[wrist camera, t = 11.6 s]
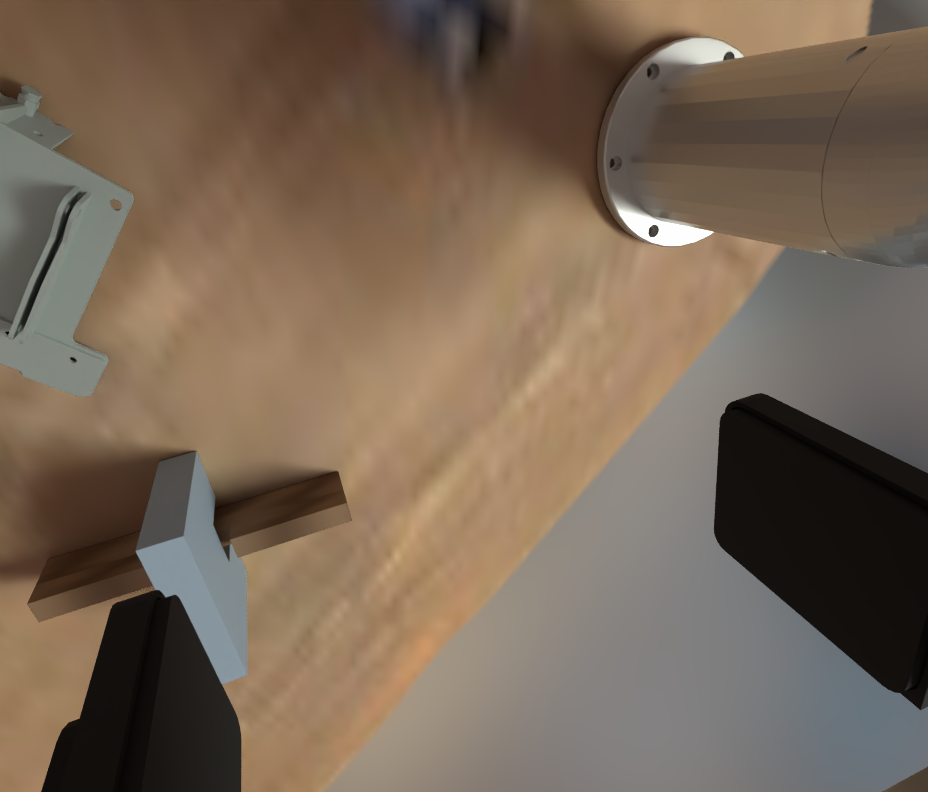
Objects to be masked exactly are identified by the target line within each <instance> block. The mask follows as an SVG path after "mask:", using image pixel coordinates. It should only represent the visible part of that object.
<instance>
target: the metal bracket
mask: <svg viewBox="0 0 928 792" xmlns="http://www.w3.org/2000/svg"><path fill="white" fill-rule="evenodd" d="M21 90H22V93H20V94H19V95H18V98H17V100H16V99H14V98H12V97H11V96H10V97H6V96H4V95H2V94H1V93H2V91H0V364H3V365H6V366H8V367H11V368H14V369H16V370H19V371H20V372H21V373H22V376H23V377H26V378H29V379H31V380H34V381H37V382H40V383H42V384H45V385H48V386H50V387H53V388H56V389H59V390H61V391H64V392H67V393H69V394H72V395H75V396H90V395H91V394H92V393H93V391H94V389H95V387H96V385H97V383H98V381H99V379H100V377H101V375H102V373H103V371H104V369H105V367H106V365H107V363H108V357H107V356H106V355H105V354H103V353H100V352H98V351H96V350H93V349H91V348H88V347H86V346H83V345H81V344H78V343H77V342H75V341H74V339H73V334H74V332H75V330H76V328H77V325H78V323H79V321H80V319H81V317H82V314H83V312H84V310H85V308H86V306H87V303H88V301H89V299H90V297H91V294H92V292H93V290H94V288H95V286H96V283H97V281H98V279H99V277H100V275H101V272H102V270H103V268H104V266H105V263H106V261H107V259H108V257H109V255H110V252H111V250H112V248H113V246H114V244H115V241H116V239H117V237H118V235H119V232H120V230H121V228H122V226H123V224H124V221H125V219H126V217H127V215H128V213H129V210H130V208H131V206H132V204H133V201H134V196H133V194H132V193H131V192H130V191H129V190H127V189H125V188H123V187H121V186H119V185H118V184H116V183H114V182H112V181H110V180H108V179H106V178H105V177H103V176H101V175H99V174H97V173H95V172H94V171H92V170H90V169H88V168H86V167H84V166H82V165H81V164H79V163H77V162H75V161H73V160H71V159H70V158H68V157H66V156H64V155H62V154H60V153H58V152H57V151H55V150H53V149H54V148H55V147H56V146H58V145H59V144H61V143H62V142H64V141H65V140H67V139H68V138H70V137H71V136H72V135H73V133H74V132H73V131H71V130H69V129H67V128H66V127H64V126H62V125H56V124H54V123H53V122H52V121H53V120H51V119H50V118H48V117H46V116H44V115H43V114H41V113H39V112H37V111H35V110H37V109H38V108H39V105H40V103H41V102H40V101H39V99H40V98H42V97H43V95H42V94H41V93H40V92H39V91H38V90H37V89H35V88H32V87H29V86H27V85H24V86H21ZM113 199H115V200H118V201H119V202H120V203H121V205H122V208H121V209H114V208H113V207H112V206H111V204H110V201H111V200H113ZM5 332H9V334H8V335H7V334H6V333H5ZM70 357H74V358H75V359H76V360H77V361H73V360H71V359H70Z"/></svg>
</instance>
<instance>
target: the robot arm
mask: <svg viewBox="0 0 928 792" xmlns="http://www.w3.org/2000/svg"><path fill="white" fill-rule="evenodd" d="M610 160H611V165H610ZM597 171H598V177H599V183H600V189H601V192H602V195H603V197H604V200H605V203H606V206H607V207H608V209H609V211H610V212H611V214H612V216H613V218H614V219H615V221H616V222H617V223H618V224H619V225H620V226H621V227H622V228H623V229H624V230H625V231H626V232H627V233H629V234H630V235H632V236H633V237H635V238H637V239H638V240H641V241H644V242H647V243H650V244H654V245H659V246H663V247H679V246H684V245H688V244H692V243H695V242H697V241H699V240H701V239H703V238H705V237H708V236H709V235H710V234H712V233H713V232H716V233H721V234H726V235H731V236H737V237H742V238H747V239H752V240H757V241H762V242H767V243H772V244H777V245H782V246H787V247H792V248H798V249H802V250H807V251H813V252H817V253H822V254H827V255H832V256H838V257H843V258H849V259H854V260H860V261H864V262H869V263H875V264H880V265H885V266H892V267H901V268H924V267H928V27H922V28H916V29H911V30H904V31H898V32H892V33H886V34H880V35H874V36H868V37H862V38H856V39H850V40H844V41H838V42H832V43H826V44H820V45H814V46H808V47H802V48H796V49H790V50H783V51H777V52H771V53H765V54H759V55H753V56H747V57H745V56H744V55H743V54H742V53H741V52H740V51H739V50H738V49H737V48H735V47H733V46H732V45H730V44H728V43H727V42H725V41H723V40H719V39H715V38H711V37H688V38H684V39H679V40H675V41H672V42H670V43H667V44H665V45H662V46H660V47H658V48H656V49H655V50H653V51H652V52H650V53H649V54H647V55H646V56H645V57H643V58H642V59H641V60H640V61H639V62H638V63H637V64H636V65H635V66H634V67H633V68H632V69H631V70H630V71H629V72H628V73H627V75H626V76H625V78H624V79H623V80H622V82H621V83H620V85H619V86H618V88H617V89H616V91H615V93H614V95H613V97H612V99H611V101H610V103H609V105H608V107H607V110H606V113H605V116H604V120H603V123H602V126H601V129H600V136H599V142H598V149H597ZM714 534H715V537H716V539H717V541H718V543H719V545H720V546H721V547H722V548H723V549H724V550H725V551H726V552H727V553H728V554H729V555H731V556H732V557H733V558H734V559H735V560H736V561H737V562H739V563H740V564H741V565H742V566H743V567H745V568H746V569H747V570H748V571H749V572H750V573H752V574H753V575H754V576H755V577H756V578H757V579H759V580H760V581H761V582H762V583H763V584H765V585H766V586H767V587H768V588H769V589H770V590H772V591H773V592H774V593H775V594H776V595H777V596H779V597H780V598H781V599H782V600H783V601H784V602H786V603H787V604H788V605H789V606H790V607H792V608H793V609H794V610H795V611H796V612H797V613H798V614H800V615H801V616H802V617H803V618H804V619H805V620H807V621H808V622H809V623H810V624H811V625H813V626H814V627H815V628H816V629H817V630H818V631H819V632H821V633H822V634H823V635H824V636H825V637H826V638H828V639H829V640H830V641H831V642H832V643H834V644H835V645H836V646H837V647H838V648H839V649H841V650H842V651H843V652H844V653H845V654H846V655H848V656H849V657H850V658H851V659H852V660H854V661H855V662H856V663H857V664H858V665H859V666H861V667H862V668H863V669H864V670H865V671H866V672H868V673H869V674H870V675H871V676H872V677H873V678H874V679H876V680H877V681H878V682H879V683H880V684H882V685H883V686H884V687H886V688H887V689H888V690H891V691H893V692H897V693H901V694H902V695H903V696H904V697H906V698H907V699H908V700H909V701H910V702H912V703H913V704H914V705H915V706H916V707H917V708H919V709H920V710H922V709H924V708H926V707H928V473H926V472H924V471H922V470H920V469H918V468H916V467H913V466H912V465H909V464H908V463H905V462H903V461H901V460H899V459H897V458H895V457H893V456H891V455H889V454H887V453H885V452H883V451H881V450H879V449H876V448H875V447H873V446H871V445H868V444H866V443H864V442H862V441H860V440H858V439H856V438H854V437H852V436H850V435H848V434H846V433H844V432H842V431H840V430H838V429H836V428H834V427H831V426H829V425H827V424H825V423H823V422H821V421H819V420H817V419H815V418H813V417H811V416H809V415H807V414H805V413H803V412H801V411H799V410H797V409H795V408H793V407H791V406H789V405H787V404H784V403H782V402H780V401H778V400H776V399H774V398H772V397H770V396H768V395H765V394H762V393H760V394H754V395H751V396H748V397H745V398H742V399H739V400H736V401H733V402H731V403H730V404H728V405H727V407H726V409H725V413H724V414H723V415H722V416H721V419H720V428H719V447H718V465H717V483H716V502H715V519H714ZM41 792H241V731H240V726H239V721H238V718H237V715H236V713H235V711H234V709H233V707H232V704H231V702H230V700H229V698H228V696H227V694H226V692H225V690H224V688H223V686H222V684H221V682H220V680H219V678H218V676H217V674H216V672H215V670H214V667H213V665H212V663H211V661H210V659H209V657H208V655H207V653H206V651H205V649H204V647H203V645H202V643H201V641H200V639H199V637H198V635H197V633H196V630H195V628H194V626H193V624H192V622H191V620H190V618H189V616H188V614H187V612H186V610H185V608H184V606H183V604H182V602H181V600H180V598H179V597H178V596H177V595H172V596H169V597H166V598H165V596H164V594H163V593H162V592H161V591H160V590H154V591H151V592H148V593H145V594H142V595H139V596H136V597H133V598H130V599H127V600H124V601H121V602H117V603H115V604H114V605H113V606H112V608H111V610H110V614H109V617H108V621H107V624H106V628H105V631H104V635H103V638H102V642H101V645H100V649H99V652H98V656H97V659H96V663H95V666H94V670H93V673H92V677H91V680H90V684H89V688H88V691H87V695H86V698H85V702H84V705H83V709H82V712H81V716H80V719H77V720H75V721H72V722H69V723H68V724H67V725H66V726H65V727H64V728H63V730H62V731H61V733H60V736H59V738H58V740H57V743H56V746H55V749H54V752H53V755H52V759H51V762H50V765H49V768H48V771H47V775H46V778H45V781H44V784H43V788H42V791H41ZM883 792H928V767H927V768H925V769H923V770H921V771H920V772H918V773H916V774H914V775H912V776H910V777H909V778H907V779H905V780H903V781H901V782H899V783H897V784H896V785H894V786H892V787H890V788H888V789H886V790H885V791H883Z"/></svg>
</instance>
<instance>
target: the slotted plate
mask: <svg viewBox="0 0 928 792" xmlns="http://www.w3.org/2000/svg"><path fill="white" fill-rule="evenodd" d="M214 508H215V495H214V492H213V490H212V487H211V485H210V482H209V480H208V478H207V475H206V473H205V470H204V468H203V466H202V463H201V461H200V458H199V456H198V453H197V451H195V452H191V453H188V454H184V455H181V456H177V457H173V458H170V459H166V460H163V461H159V464H158V467H157V471H156V475H155V479H154V483H153V486H152V490H151V494H150V498H149V501H148V505H147V509H146V513H145V517H144V520H143V524H142V528H141V532H140V536H139V539H138V543H137V547H136V553H137V555H138V557H139V559H140V561H141V563H142V565H143V567H144V569H145V571H146V573H147V575H148V577H149V578H150V580H151V582H152V584H153V586H154V588H155V590H160V591H161V592H162V593H163V594H164V596H165V598H166V597H169V596H172V595H177V596H178V597H179V598H180V600H181V602H182V604H183V606H184V608H185V610H186V612H187V614H188V616H189V618H190V620H191V622H192V624H193V626H194V628H195V630H196V633H197V635H198V637H199V639H200V641H201V643H202V645H203V647H204V649H205V651H206V653H207V655H208V657H209V659H210V661H211V663H212V665H213V667H214V670H215V672H216V674H217V676H218V678H219V680H220V682H221V684H224V683H227V682H230V681H232V680H235V679H238V678H240V677H243V676H246V675H247V572H246V570H245V567H244V565H243V562H242V560H241V557H238V558H237V556H236V553H235V551H234V548H233V546H232V544H230V545H227V546H224V547H222V544H221V542H220V540H219V537H218V535H217V533H216V530H215V528H214V526H213V521H214Z"/></svg>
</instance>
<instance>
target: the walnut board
mask: <svg viewBox="0 0 928 792" xmlns="http://www.w3.org/2000/svg"><path fill="white" fill-rule="evenodd" d="M349 521H352V518H351V515H350V511H349V508H348V504H347V501H346V497H345V494H344V490H343V487H342V483H341V480H340V476H339V473H338V472H334V473H331V474H328V475H325V476H321V477H318V478H315V479H311V480H308V481H305V482H301V483H298V484H295V485H291V486H288V487H285V488H282V489H278V490H275V491H272V492H268V493H265V494H262V495H258V496H255V497H252V498H249V499H245V500H242V501H239V502H235V503H232V504H229V505H225V506H222V507H219V508H216V509H214V521H213V526H214V528H215V530H216V533H217V535H218V537H219V540H220V542H221V544H222V547H224V546H227V545H230V544H232V546H233V548H234V551H235V553H236V556H237V558H238V557H241V556H244V555H248V554H251V553H254V552H257V551H260V550H263V549H266V548H269V547H272V546H275V545H278V544H281V543H285V542H288V541H291V540H294V539H297V538H300V537H303V536H306V535H309V534H312V533H315V532H318V531H322V530H325V529H328V528H331V527H334V526H337V525H340V524H343V523H346V522H349ZM140 532H141V531H140ZM140 532H136V533H133V534H130V535H126V536H123V537H120V538H116V539H113V540H110V541H107V542H103V543H100V544H97V545H93V546H90V547H87V548H83V549H80V550H77V551H74V552H70V553H67V554H64V555H60V556H57V557H54V558H50V559H48V560H47V563H46V565H45V567H44V569H43V571H42V573H41V575H40V578H39V580H38V582H37V584H36V586H35V588H34V590H33V592H32V595H31V597H30V599H29V601H28V603H27V605H28V606H29V608H30V609H31V611H32V612H33V614H34V616H35V617H36V619H37V620H38V622H41V621H44V620H47V619H50V618H53V617H56V616H60V615H63V614H66V613H69V612H72V611H75V610H78V609H81V608H84V607H87V606H90V605H93V604H97V603H100V602H103V601H106V600H109V599H112V598H115V597H118V596H121V595H124V594H127V593H130V592H134V591H137V590H140V589H143V588H146V587H149V586H152V585H153V584H152V582H151V580H150V578H149V577H148V575H147V573H146V571H145V569H144V567H143V565H142V563H141V561H140V559H139V557H138V555H137V553H136V547H137V543H138V539H139V536H140Z"/></svg>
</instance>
